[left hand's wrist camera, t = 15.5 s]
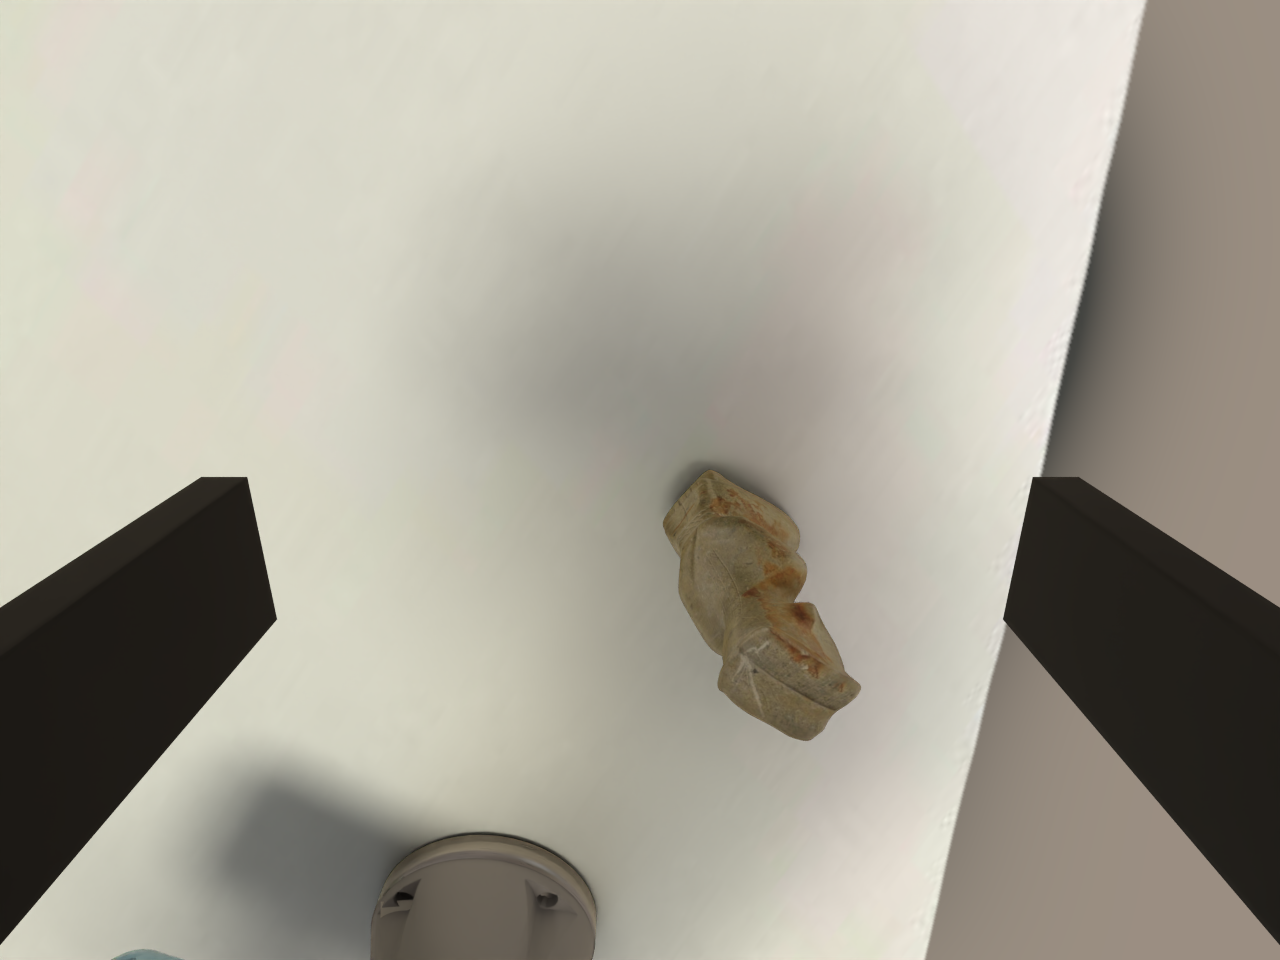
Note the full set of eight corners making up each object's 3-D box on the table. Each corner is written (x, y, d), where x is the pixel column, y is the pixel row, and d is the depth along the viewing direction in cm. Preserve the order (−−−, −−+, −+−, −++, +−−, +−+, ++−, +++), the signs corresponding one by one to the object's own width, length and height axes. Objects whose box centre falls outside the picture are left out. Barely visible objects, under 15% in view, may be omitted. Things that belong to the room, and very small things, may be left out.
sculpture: (739, 587, 42) (788, 783, 28) (643, 513, 41) (646, 682, 27) (811, 517, 41) (901, 688, 27) (715, 437, 39) (757, 574, 25)
